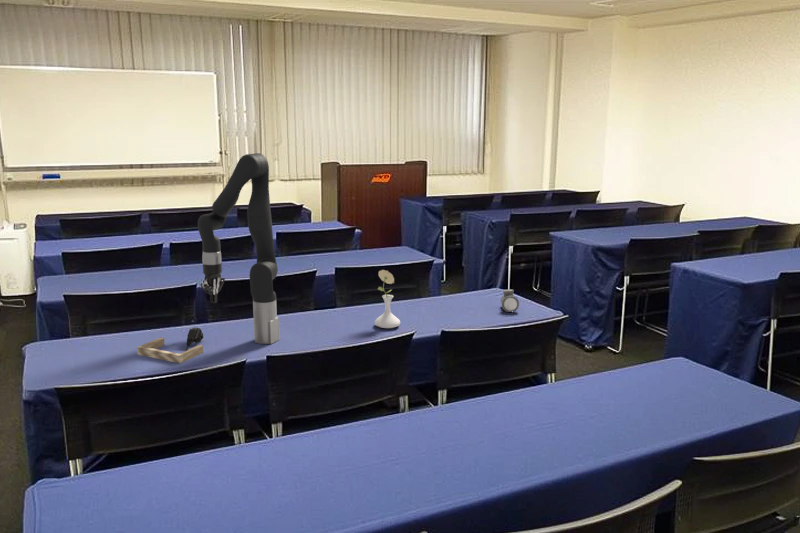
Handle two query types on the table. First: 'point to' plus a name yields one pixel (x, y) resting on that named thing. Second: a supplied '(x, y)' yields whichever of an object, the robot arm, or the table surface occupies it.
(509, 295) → the pipe fitting
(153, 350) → the bracket
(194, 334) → the power plug
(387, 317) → the flower in vase
